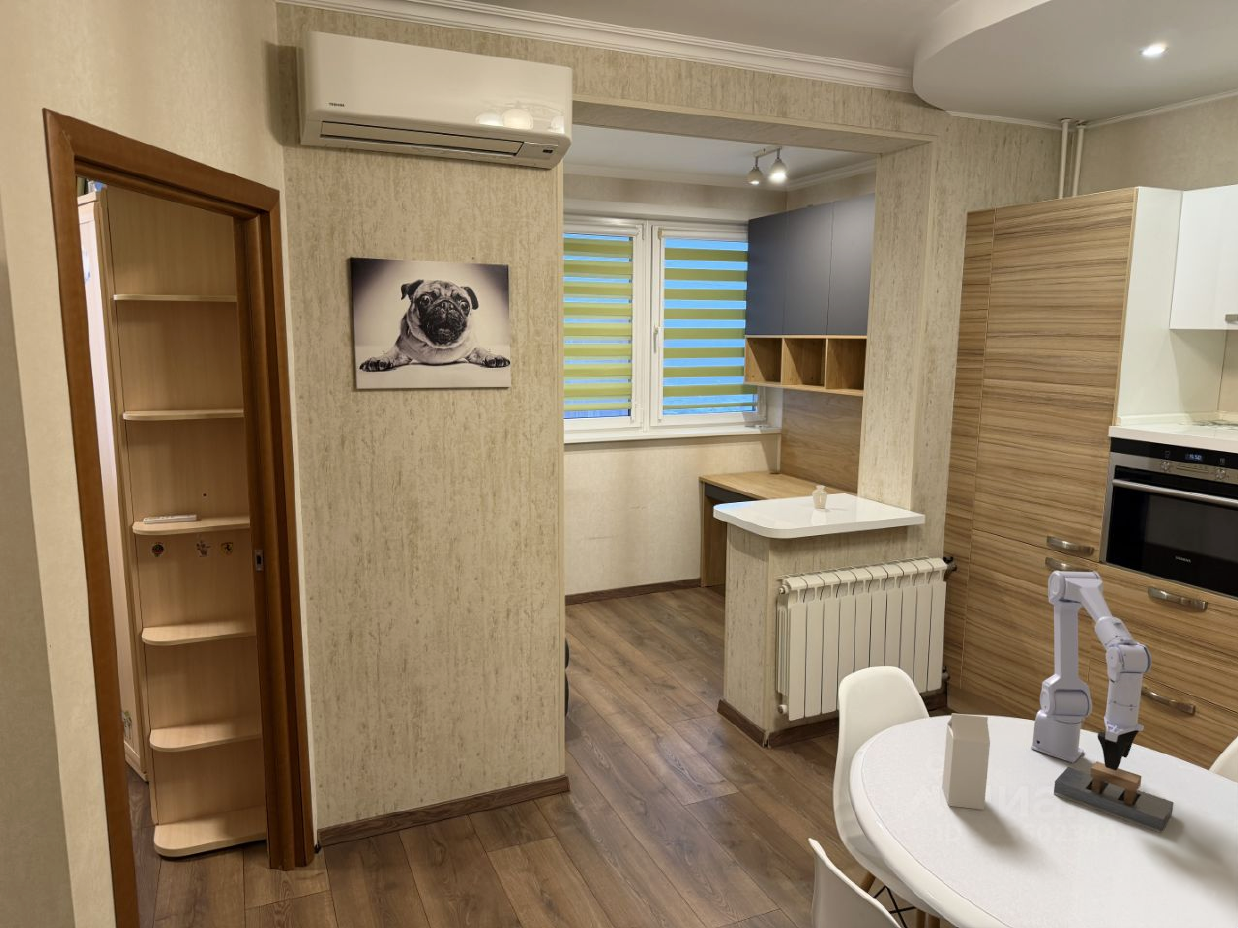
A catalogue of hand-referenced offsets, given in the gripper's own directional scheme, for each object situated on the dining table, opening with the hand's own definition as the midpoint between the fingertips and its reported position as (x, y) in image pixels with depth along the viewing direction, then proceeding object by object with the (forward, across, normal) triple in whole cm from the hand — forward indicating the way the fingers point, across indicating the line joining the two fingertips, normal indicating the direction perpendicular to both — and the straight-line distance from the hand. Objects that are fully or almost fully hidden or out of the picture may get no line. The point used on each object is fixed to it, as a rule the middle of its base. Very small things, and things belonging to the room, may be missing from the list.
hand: (1116, 761), depth 173 cm
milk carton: (+10, -21, +23) cm, 33 cm away
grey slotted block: (+10, 0, 0) cm, 10 cm away
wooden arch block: (+9, 0, 0) cm, 9 cm away
